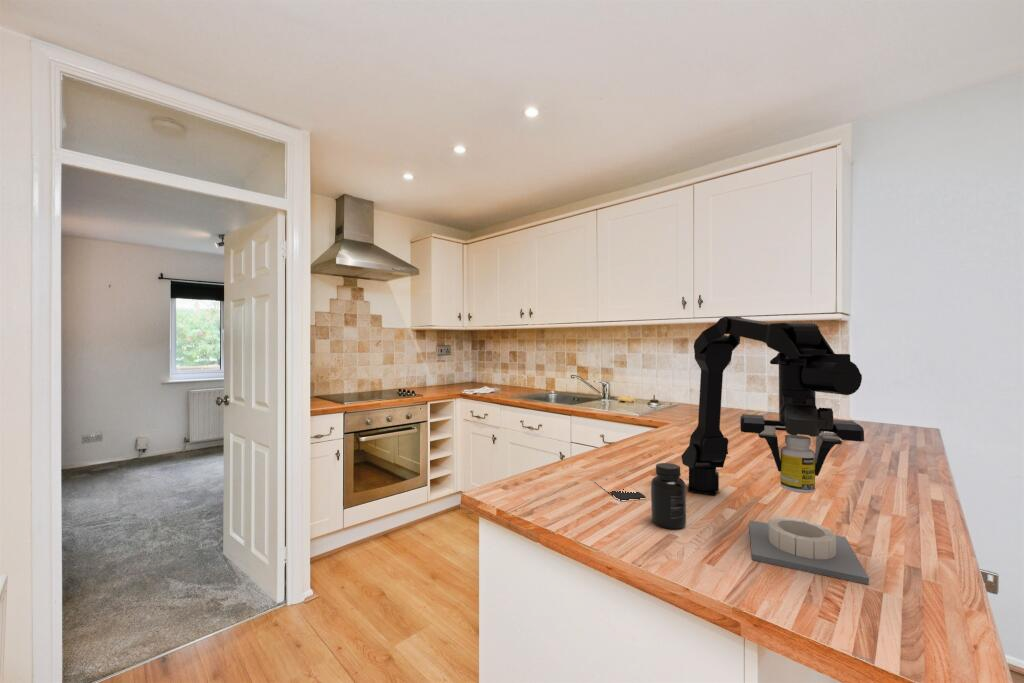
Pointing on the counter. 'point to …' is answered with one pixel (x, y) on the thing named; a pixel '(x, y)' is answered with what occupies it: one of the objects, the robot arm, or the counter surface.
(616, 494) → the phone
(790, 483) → the supplement bottle
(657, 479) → the supplement bottle
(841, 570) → the bottle holder
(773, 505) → the counter surface
